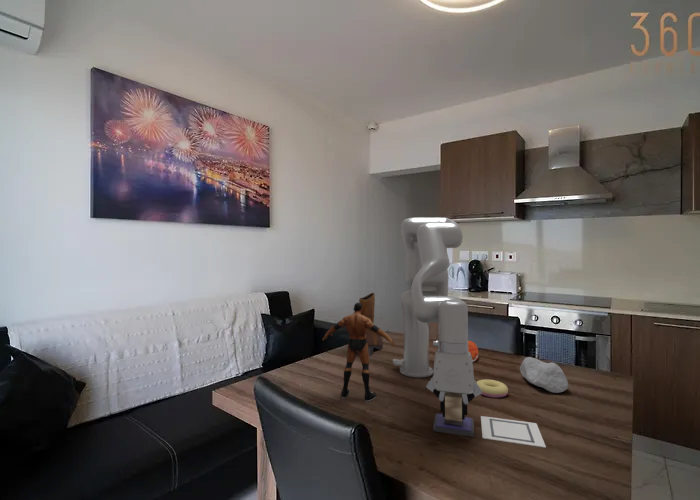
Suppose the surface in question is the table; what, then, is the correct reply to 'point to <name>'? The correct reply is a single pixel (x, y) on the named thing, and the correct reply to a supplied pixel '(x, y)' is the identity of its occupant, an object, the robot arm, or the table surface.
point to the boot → (368, 311)
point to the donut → (492, 388)
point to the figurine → (357, 346)
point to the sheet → (511, 431)
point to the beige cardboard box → (453, 408)
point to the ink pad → (454, 426)
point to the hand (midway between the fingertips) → (453, 415)
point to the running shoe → (473, 350)
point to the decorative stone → (544, 375)
